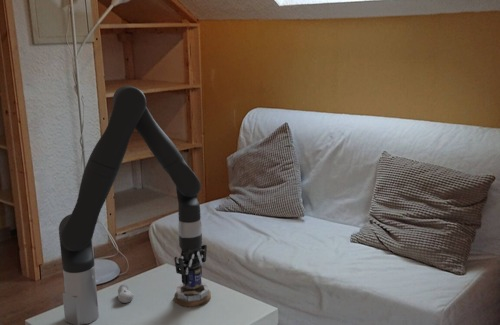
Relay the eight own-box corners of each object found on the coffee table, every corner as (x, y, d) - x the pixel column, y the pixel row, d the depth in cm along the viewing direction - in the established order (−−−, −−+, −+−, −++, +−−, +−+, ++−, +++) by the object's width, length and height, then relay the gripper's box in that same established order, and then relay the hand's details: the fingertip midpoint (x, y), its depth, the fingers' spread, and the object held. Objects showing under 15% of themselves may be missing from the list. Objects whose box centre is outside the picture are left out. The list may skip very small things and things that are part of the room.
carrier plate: (195, 310, 168) (195, 300, 167) (167, 301, 175) (166, 291, 174) (217, 295, 178) (217, 286, 177) (190, 286, 184) (189, 277, 184)
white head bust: (132, 307, 173) (116, 305, 172) (131, 295, 181) (116, 293, 179) (135, 295, 173) (120, 293, 171) (134, 284, 180) (119, 281, 179)
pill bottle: (198, 292, 172) (197, 260, 169) (180, 290, 173) (179, 259, 170) (203, 283, 178) (202, 253, 175) (186, 282, 179) (185, 251, 176)
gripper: (195, 223, 179) (196, 269, 183) (166, 237, 167) (169, 285, 171) (212, 227, 175) (214, 274, 179) (184, 242, 163) (186, 291, 167)
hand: (192, 279), depth 175 cm, fingers closed on pill bottle, 6 cm apart
